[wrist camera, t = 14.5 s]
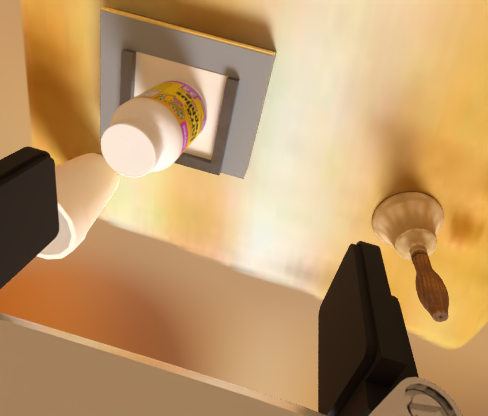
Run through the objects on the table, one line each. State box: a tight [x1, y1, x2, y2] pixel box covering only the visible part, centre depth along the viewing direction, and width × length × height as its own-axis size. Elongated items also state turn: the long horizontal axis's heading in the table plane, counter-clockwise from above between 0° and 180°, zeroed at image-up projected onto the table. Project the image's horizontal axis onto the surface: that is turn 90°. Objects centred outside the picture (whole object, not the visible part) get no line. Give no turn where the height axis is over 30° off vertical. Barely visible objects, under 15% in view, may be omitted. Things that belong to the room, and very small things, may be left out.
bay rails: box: [120, 49, 240, 175], centre depth 40 cm, size 12×11×1 cm
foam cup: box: [37, 153, 120, 259], centre depth 44 cm, size 10×9×13 cm
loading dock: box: [100, 7, 276, 179], centre depth 41 cm, size 18×14×3 cm
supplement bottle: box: [101, 80, 207, 178], centre depth 34 cm, size 7×7×13 cm
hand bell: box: [372, 192, 449, 322], centre depth 38 cm, size 8×8×16 cm
